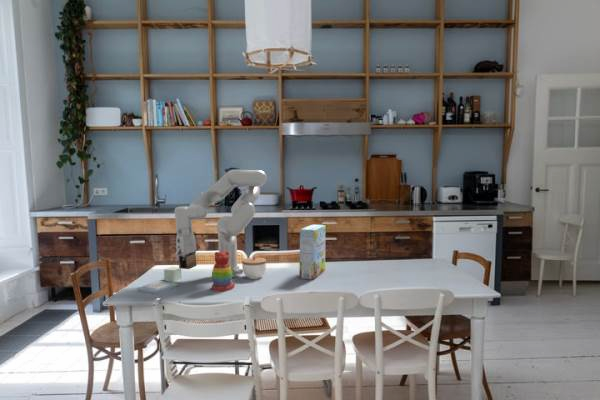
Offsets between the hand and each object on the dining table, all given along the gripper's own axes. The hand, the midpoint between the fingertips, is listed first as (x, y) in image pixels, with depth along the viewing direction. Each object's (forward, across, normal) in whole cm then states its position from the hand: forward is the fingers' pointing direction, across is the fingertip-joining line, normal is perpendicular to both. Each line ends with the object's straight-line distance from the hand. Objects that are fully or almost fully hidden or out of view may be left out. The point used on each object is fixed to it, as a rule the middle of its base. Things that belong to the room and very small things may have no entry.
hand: (187, 265), depth 214 cm
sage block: (+8, -2, +9) cm, 12 cm away
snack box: (+12, +36, -53) cm, 65 cm away
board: (+7, -17, +5) cm, 19 cm away
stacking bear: (+9, -5, -24) cm, 26 cm away
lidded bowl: (+10, +19, -27) cm, 34 cm away
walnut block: (+1, 0, 0) cm, 1 cm away
